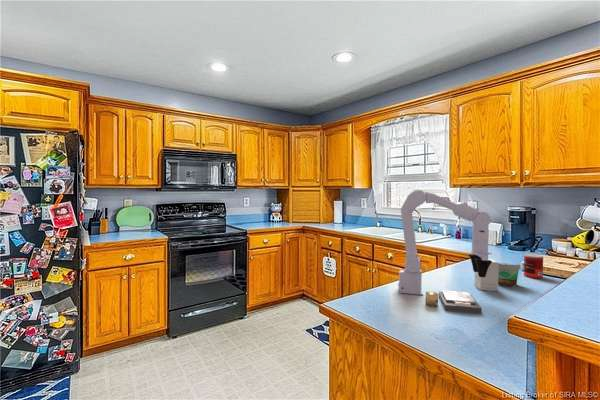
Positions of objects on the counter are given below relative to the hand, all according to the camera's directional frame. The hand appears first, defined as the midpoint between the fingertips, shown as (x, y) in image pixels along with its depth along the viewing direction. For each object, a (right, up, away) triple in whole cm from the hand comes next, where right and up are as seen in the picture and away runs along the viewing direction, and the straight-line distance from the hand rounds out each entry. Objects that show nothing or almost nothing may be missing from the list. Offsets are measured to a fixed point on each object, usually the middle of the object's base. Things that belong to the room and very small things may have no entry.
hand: (479, 274), depth 125 cm
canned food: (+45, -9, +31) cm, 55 cm away
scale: (-11, -10, -6) cm, 16 cm away
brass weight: (-22, -10, -6) cm, 25 cm away
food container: (+22, -9, +18) cm, 30 cm away
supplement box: (+11, -10, +14) cm, 20 cm away
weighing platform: (-11, -8, -5) cm, 14 cm away
